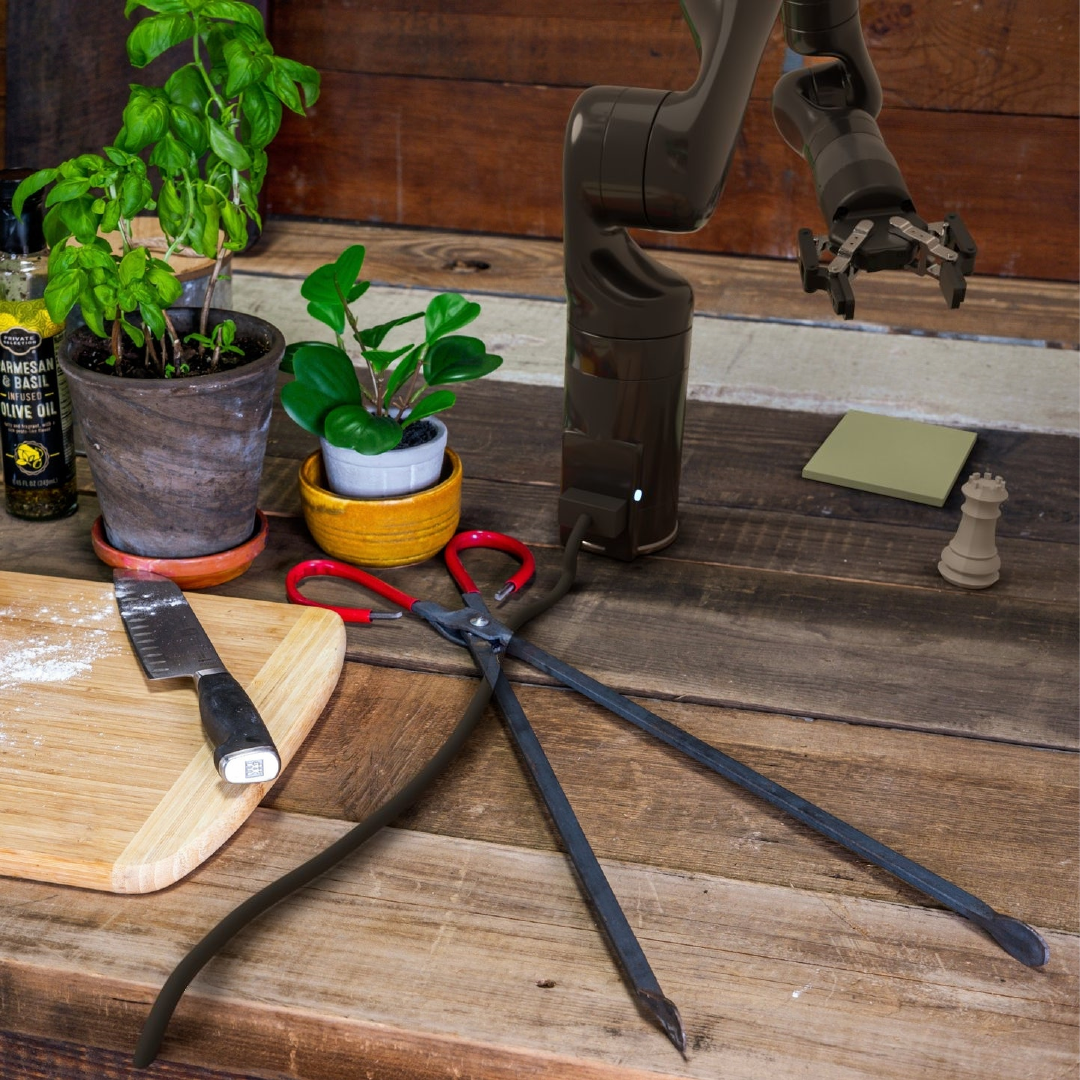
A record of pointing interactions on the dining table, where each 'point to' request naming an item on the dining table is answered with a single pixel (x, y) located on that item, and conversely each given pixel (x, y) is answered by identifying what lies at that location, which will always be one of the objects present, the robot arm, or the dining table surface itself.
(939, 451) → the mat
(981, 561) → the rook chess piece
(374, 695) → the dining table surface
